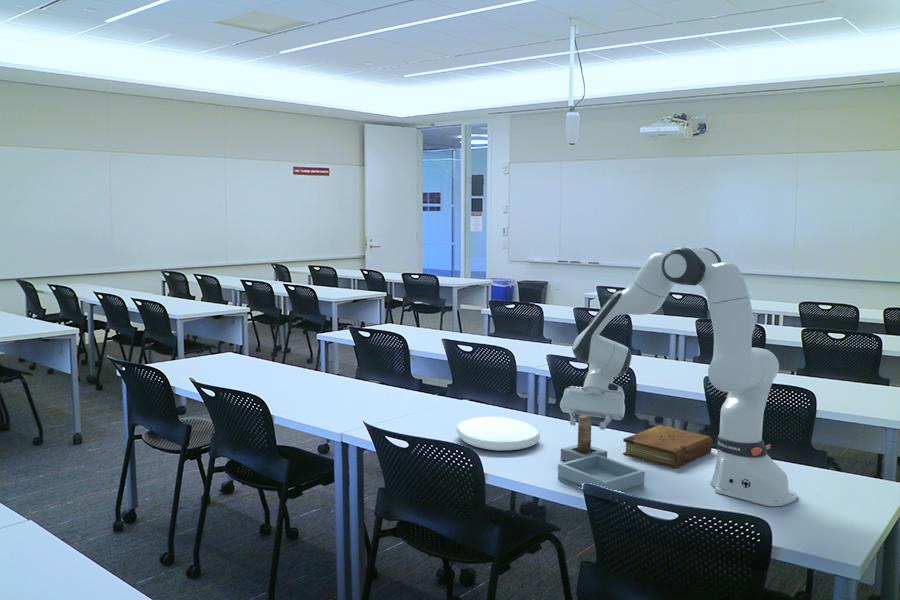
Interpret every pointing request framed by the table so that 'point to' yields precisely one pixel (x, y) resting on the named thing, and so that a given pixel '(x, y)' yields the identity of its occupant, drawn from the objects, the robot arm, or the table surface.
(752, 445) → the robot arm
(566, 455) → the socket block
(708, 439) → the diary
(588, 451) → the dowel
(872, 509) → the table surface
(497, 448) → the plate
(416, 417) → the table surface
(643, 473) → the tray
